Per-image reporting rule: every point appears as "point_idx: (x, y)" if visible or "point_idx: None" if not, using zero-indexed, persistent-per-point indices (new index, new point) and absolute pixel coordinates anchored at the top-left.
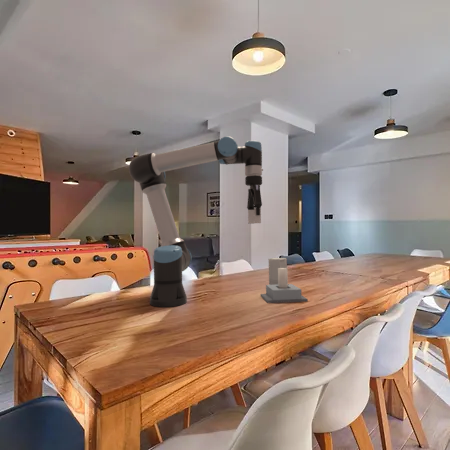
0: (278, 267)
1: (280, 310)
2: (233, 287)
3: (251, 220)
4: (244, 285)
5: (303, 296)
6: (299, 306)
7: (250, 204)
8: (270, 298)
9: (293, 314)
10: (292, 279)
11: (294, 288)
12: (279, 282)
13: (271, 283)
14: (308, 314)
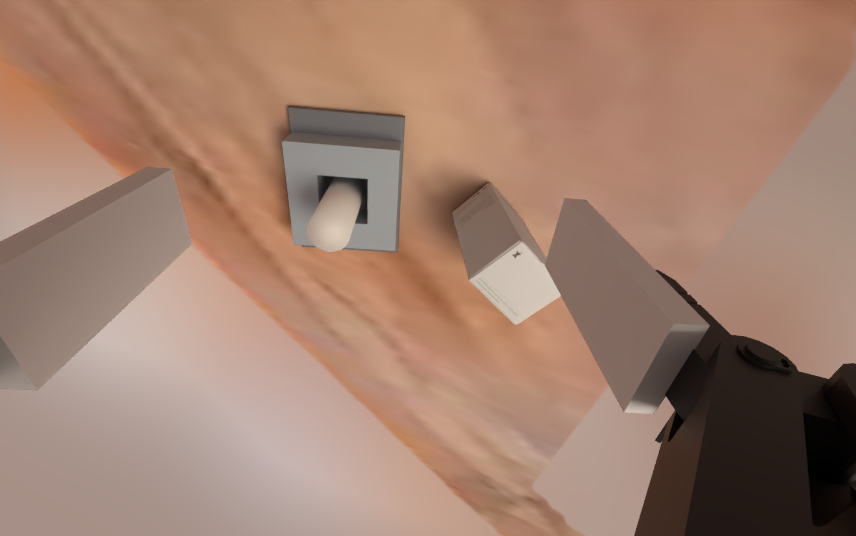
0: (468, 254)
1: (188, 116)
2: (619, 37)
3: (568, 255)
4: (635, 109)
5: None
6: (242, 195)
7: (683, 468)
8: (320, 130)
9: (142, 140)
10: None
11: None
12: (329, 191)
13: (484, 199)
14: None
